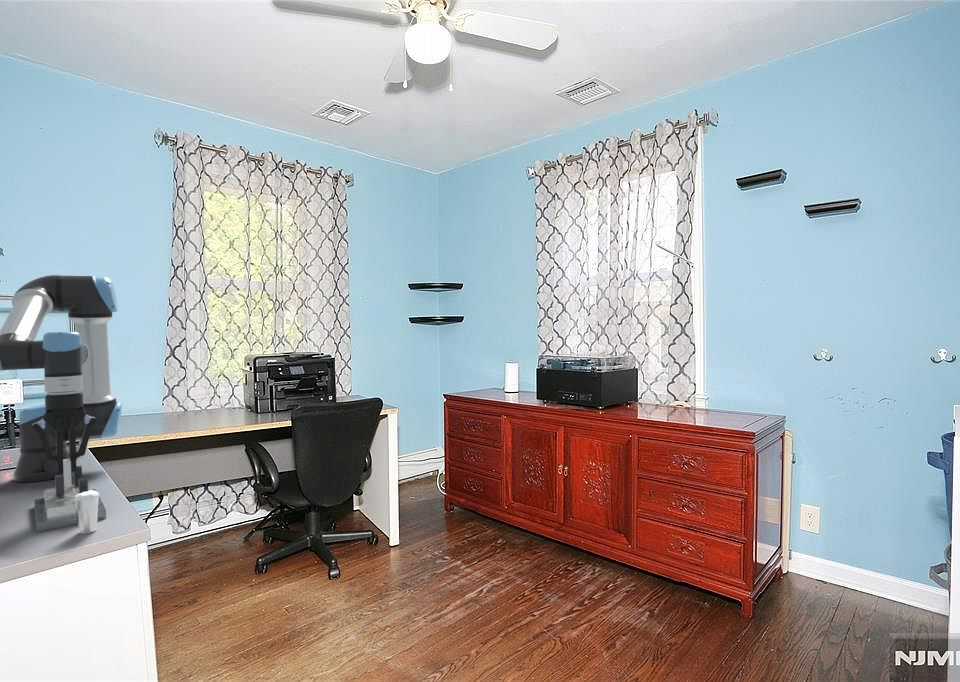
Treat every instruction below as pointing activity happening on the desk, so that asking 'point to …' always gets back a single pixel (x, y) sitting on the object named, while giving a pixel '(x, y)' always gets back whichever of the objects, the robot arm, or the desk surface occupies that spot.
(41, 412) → the robot arm
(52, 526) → the breaker panel
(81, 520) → the milkshake
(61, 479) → the breaker
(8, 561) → the desk surface
